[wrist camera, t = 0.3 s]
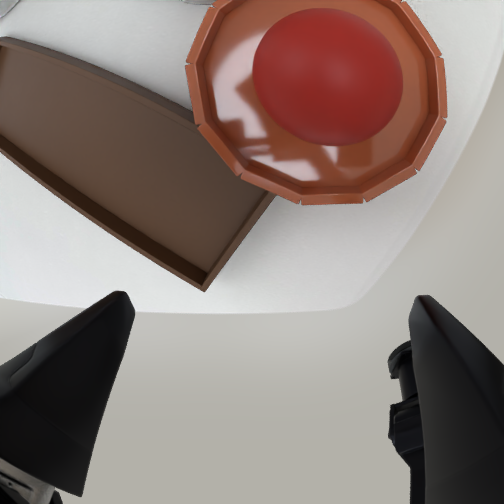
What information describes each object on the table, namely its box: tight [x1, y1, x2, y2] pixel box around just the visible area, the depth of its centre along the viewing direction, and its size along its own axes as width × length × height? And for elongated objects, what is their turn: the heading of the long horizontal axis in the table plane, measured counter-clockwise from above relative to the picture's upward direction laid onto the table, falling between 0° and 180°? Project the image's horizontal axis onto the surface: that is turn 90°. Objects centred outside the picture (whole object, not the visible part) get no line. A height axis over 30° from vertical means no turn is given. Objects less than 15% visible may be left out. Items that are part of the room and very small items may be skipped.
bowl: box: [185, 0, 447, 205], centre depth 14 cm, size 13×13×8 cm
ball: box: [252, 8, 403, 146], centre depth 9 cm, size 6×6×6 cm
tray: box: [0, 37, 276, 292], centre depth 20 cm, size 40×13×3 cm, turn 58°
